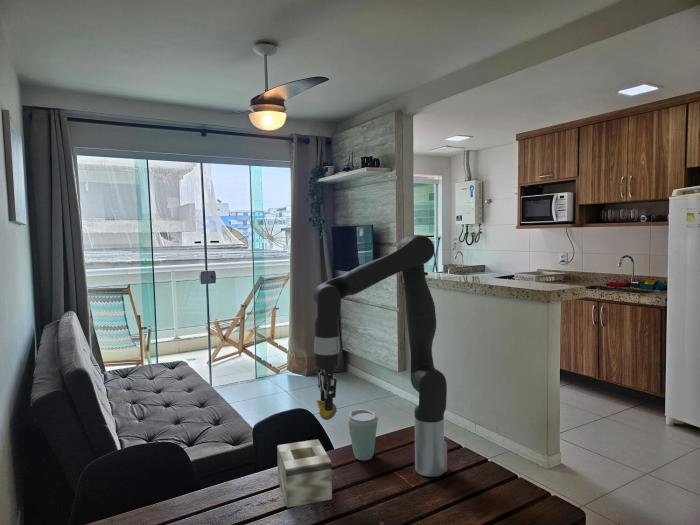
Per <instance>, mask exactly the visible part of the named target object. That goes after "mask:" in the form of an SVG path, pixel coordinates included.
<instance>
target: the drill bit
mask: <svg viewBox="0 0 700 525" xmlns="http://www.w3.org/2000/svg"><path fill="white" fill-rule="evenodd" d="M316 403H317V406H318V409H319V412H318V413H319V416H320V417H321V418H322V419H323V420H325V421H329V420H331V419H332V418H334V417H335V415H336V414H337V412H338V410H337V408H338V407H337V406H336V404H334V402H333V410H331V411H326V410H325V402H324V401H321V399H316Z"/></svg>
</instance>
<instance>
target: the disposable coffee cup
mask: <svg viewBox="0 0 700 525" xmlns="http://www.w3.org/2000/svg"><path fill="white" fill-rule="evenodd" d="M346 421H347V423H348V424H347V426H348V431H349V435H350V436H349V437H350V440H351V442H350V443H351V445H352V446H351V447H352V451H353V456H354V458H355V459H357V460H359V461H369V460H371V459H373V456H374V455H375V454H374V453H375V445H376V436H377V429H378V428H377V427H378V421H379V418H378V416H377V414H376V413H375V412H373V411H371V410H369V409H364V408H356V409H352V410H351V411H349V413H348V414H347V418H346Z"/></svg>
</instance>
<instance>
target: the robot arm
mask: <svg viewBox="0 0 700 525" xmlns="http://www.w3.org/2000/svg"><path fill="white" fill-rule="evenodd" d="M434 254H435V245H434V242H433V241H432V239H430V238H429V237H428V236H426V235H422V234H411V235H407V236H404V237H403V238H401V240H400V242H399V244H398V249H397V250H395V251H393V252H391V253H389V254H387V255H384V256H382V257H380V258H377V259H374V260H371V261H368V262H366V263H363V264H361V265H359V266H356V267H355V268H353V269H351V270H349V271H347V272H345V273H344V274H341V275H340V276H337V277H334V278H332V279H329V280H326V281H325V282H322V283H320V284H319V285H317V286H316V287H315V289H314V291H313V296H312V297H313V300H314V301H315V303H316V304H317V310H316V311H317V313H316V314H317V316H316V318H315V321H314V323H315V324H314V342H313V367H315V368H316V369H317V370H316V371H317V382H318V383H317V387H318V389H319V392H320V401H324V402H325V410H326V411H331V410H333V403H334V402H333V400H334V398H336V393H337V381H338V380H337V378H336V376H335V373H334V369H337V368H339V366H340V337H339V330H340V329H339V328H340V327H339V318H340V313H341V312H340V311H341V304H342V303H341V302H342V301H341V300H342V299H343V298H345V297H348V296H354V295H357V294H359V293H361V292H363V291H364V290H366V289H369V288H370V287H372V286H374V285H376V284H377V283H380V282H382V281H383V280H385V279H387V278H389V277H392V276H393V275H396V274H398V273H400V272H401V273H402V277H403V278H402V280H403V289H404V290H403V292H404V293H403V294H404V303H405V316H406V325H407V331H408V332H407V333H408V342H409V350H410V383H411V385H412V388H414V390H415V391H417V393H418V405H416V406H415V407H414V470H415V472H416V473H417V474H419V475H421V476H422V477H423V476H424V477H435V478H436V477H440V476H442V475H443V474H444V473H447V472H448V465H447V463H448V455H447V454H448V450H447V449H448V446H447V441H446V440H445V412H446V409H447V391H448V389H447V388H448V385H447V379H446V376H445V375H444V373H443V372H441V371H440V370H438V369H436V368H435V364H434V359H433V342H434V338H435V335H436V331H437V314H436V305H435V302H434V298H433V295H432V293H431V290H430V288H429V284H428V282H427V279H426V275H425V273H426V272H425V264H427V263H428V262H429V261H431V259H432V258H433V257H434Z"/></svg>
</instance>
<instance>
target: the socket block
mask: <svg viewBox="0 0 700 525" xmlns="http://www.w3.org/2000/svg"><path fill="white" fill-rule="evenodd" d="M276 450H277V453H276V454H277V480H278V484H279V487H280V490H281V494H282V497H283V500H284V503H285V505H286V506H285V507H286V508H292V507H298V506H302V505H303V506H304V505H309V504H314V503H320V502H324V501H330V500H332V499H333V483H332V482H333V481H332V469H333V464H332V460H331V458H330V457H329V455H328V454H327V452H326V451H325V449H324V447H323V445H322V443H321V441H320V440H319V439H310V440H305V441H297V442H290V443H284V444H278V445H277V446H276Z"/></svg>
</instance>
